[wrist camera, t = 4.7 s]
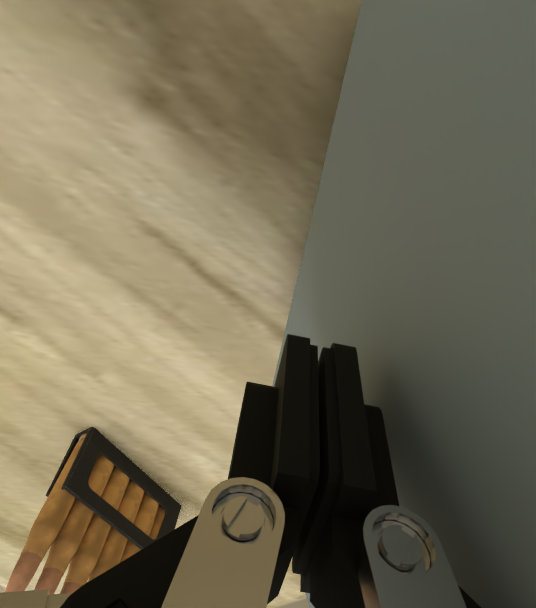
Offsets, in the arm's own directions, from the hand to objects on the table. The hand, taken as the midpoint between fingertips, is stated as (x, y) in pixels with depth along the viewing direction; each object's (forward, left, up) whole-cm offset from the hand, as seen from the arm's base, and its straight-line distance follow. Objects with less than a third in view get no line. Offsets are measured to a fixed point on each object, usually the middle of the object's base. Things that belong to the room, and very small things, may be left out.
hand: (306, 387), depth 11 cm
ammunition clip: (+25, -9, -15) cm, 30 cm away
